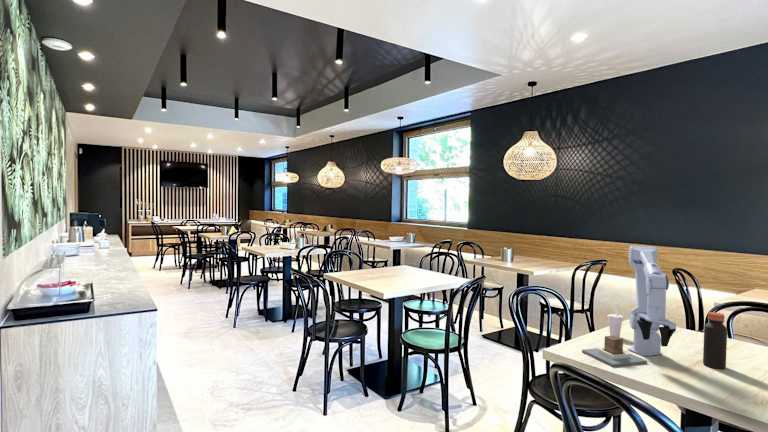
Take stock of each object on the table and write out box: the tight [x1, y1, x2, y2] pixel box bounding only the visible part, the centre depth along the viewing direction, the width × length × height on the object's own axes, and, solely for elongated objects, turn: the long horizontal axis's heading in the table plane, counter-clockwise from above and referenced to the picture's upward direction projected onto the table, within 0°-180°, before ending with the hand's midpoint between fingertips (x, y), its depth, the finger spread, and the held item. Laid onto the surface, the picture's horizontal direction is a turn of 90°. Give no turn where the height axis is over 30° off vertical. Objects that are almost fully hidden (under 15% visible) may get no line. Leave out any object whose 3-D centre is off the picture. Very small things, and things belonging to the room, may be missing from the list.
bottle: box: [702, 311, 728, 370], centre depth 156 cm, size 7×7×20 cm
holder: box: [581, 347, 648, 368], centre depth 164 cm, size 16×16×2 cm
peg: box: [603, 335, 624, 355], centre depth 164 cm, size 4×4×7 cm
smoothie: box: [607, 306, 624, 338], centre depth 191 cm, size 6×6×14 cm
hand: (655, 342), depth 154 cm, fingers open, 7 cm apart
